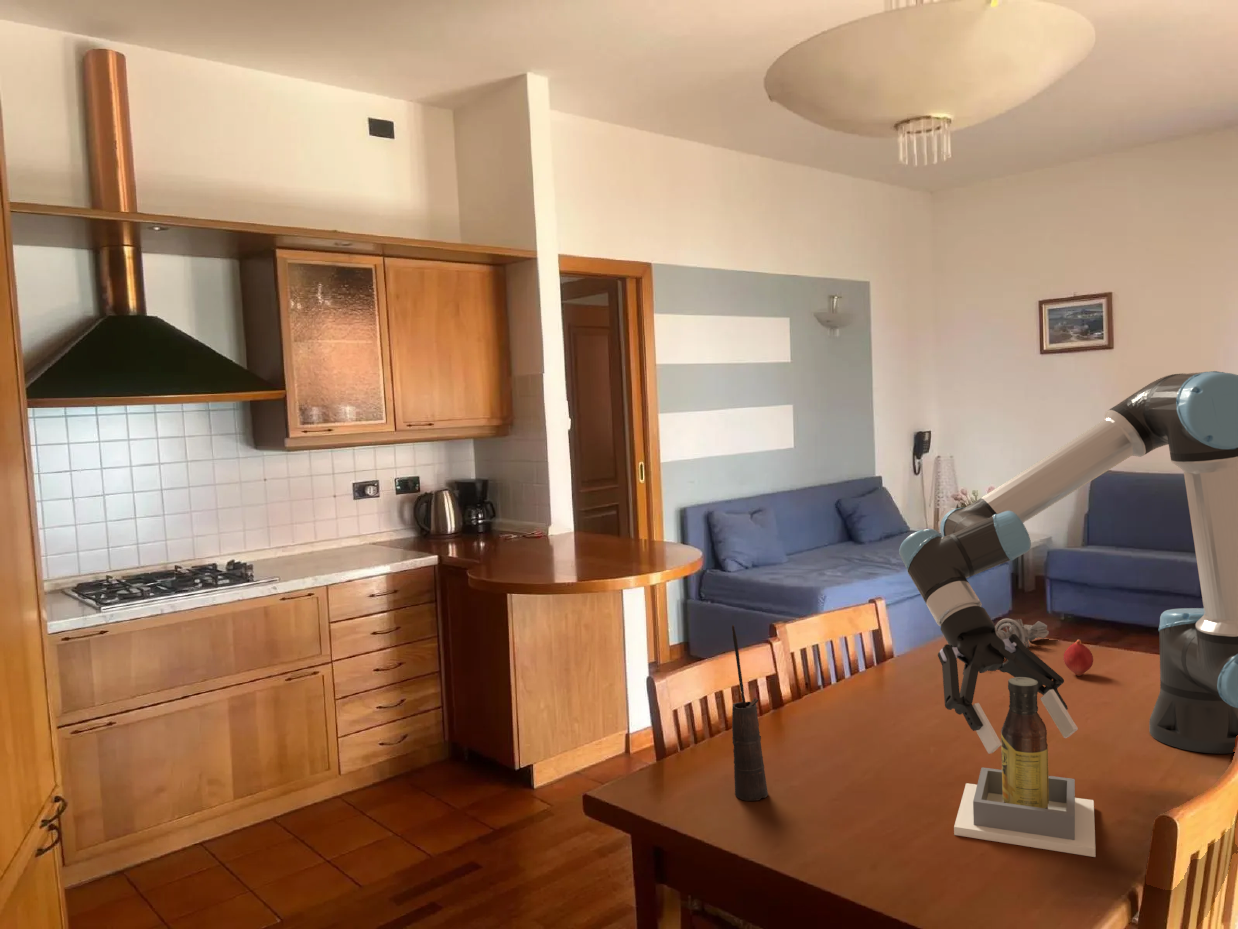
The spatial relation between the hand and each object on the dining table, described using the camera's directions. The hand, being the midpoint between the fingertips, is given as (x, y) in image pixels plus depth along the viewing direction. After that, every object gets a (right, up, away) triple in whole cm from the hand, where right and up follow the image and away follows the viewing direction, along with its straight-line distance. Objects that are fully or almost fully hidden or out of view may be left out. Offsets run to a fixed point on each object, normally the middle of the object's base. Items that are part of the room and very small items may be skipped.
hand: (1034, 741), depth 132 cm
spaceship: (+34, -5, +89) cm, 95 cm away
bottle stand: (0, -12, +3) cm, 13 cm away
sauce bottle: (0, -11, +3) cm, 12 cm away
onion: (+41, -6, +68) cm, 80 cm away
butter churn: (-38, -14, +17) cm, 43 cm away
